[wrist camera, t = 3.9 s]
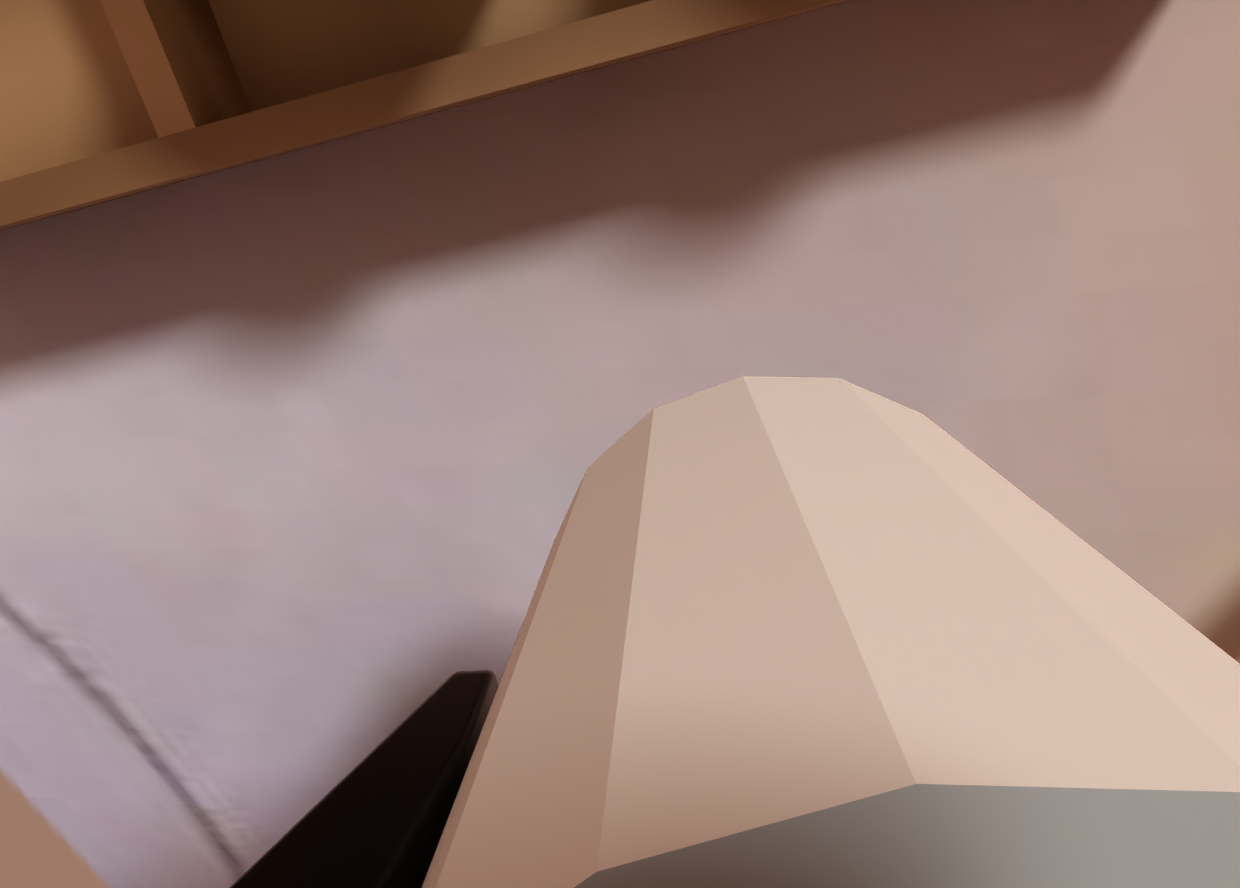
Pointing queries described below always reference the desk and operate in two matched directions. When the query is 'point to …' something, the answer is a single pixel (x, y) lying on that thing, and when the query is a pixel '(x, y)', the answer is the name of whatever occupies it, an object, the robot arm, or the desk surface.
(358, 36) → the rack
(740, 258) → the desk surface
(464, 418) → the desk surface
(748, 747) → the shot glass
